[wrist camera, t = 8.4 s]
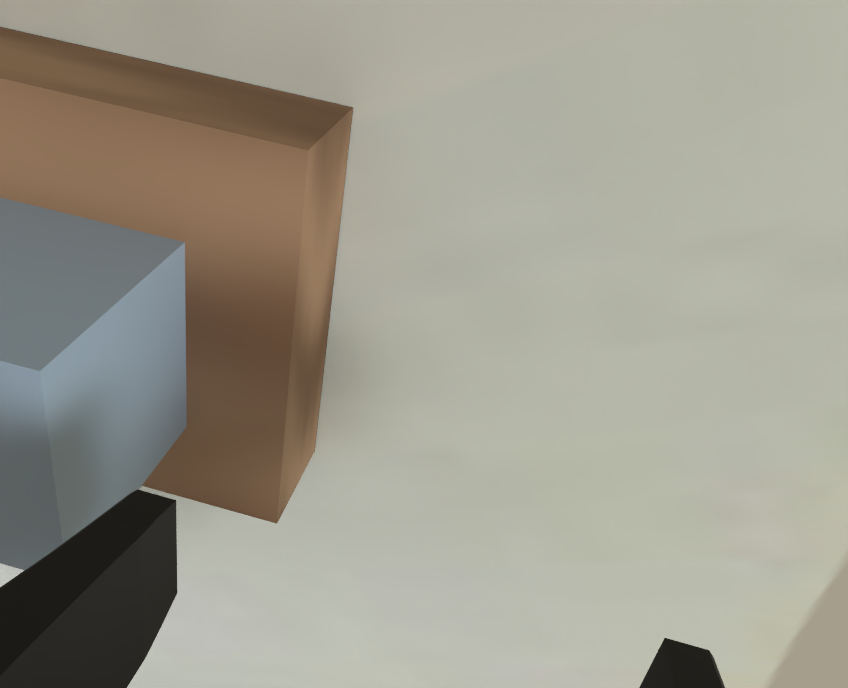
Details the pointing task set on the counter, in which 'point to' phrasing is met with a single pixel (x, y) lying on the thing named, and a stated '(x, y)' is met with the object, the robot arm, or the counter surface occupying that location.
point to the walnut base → (200, 237)
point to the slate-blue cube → (83, 370)
